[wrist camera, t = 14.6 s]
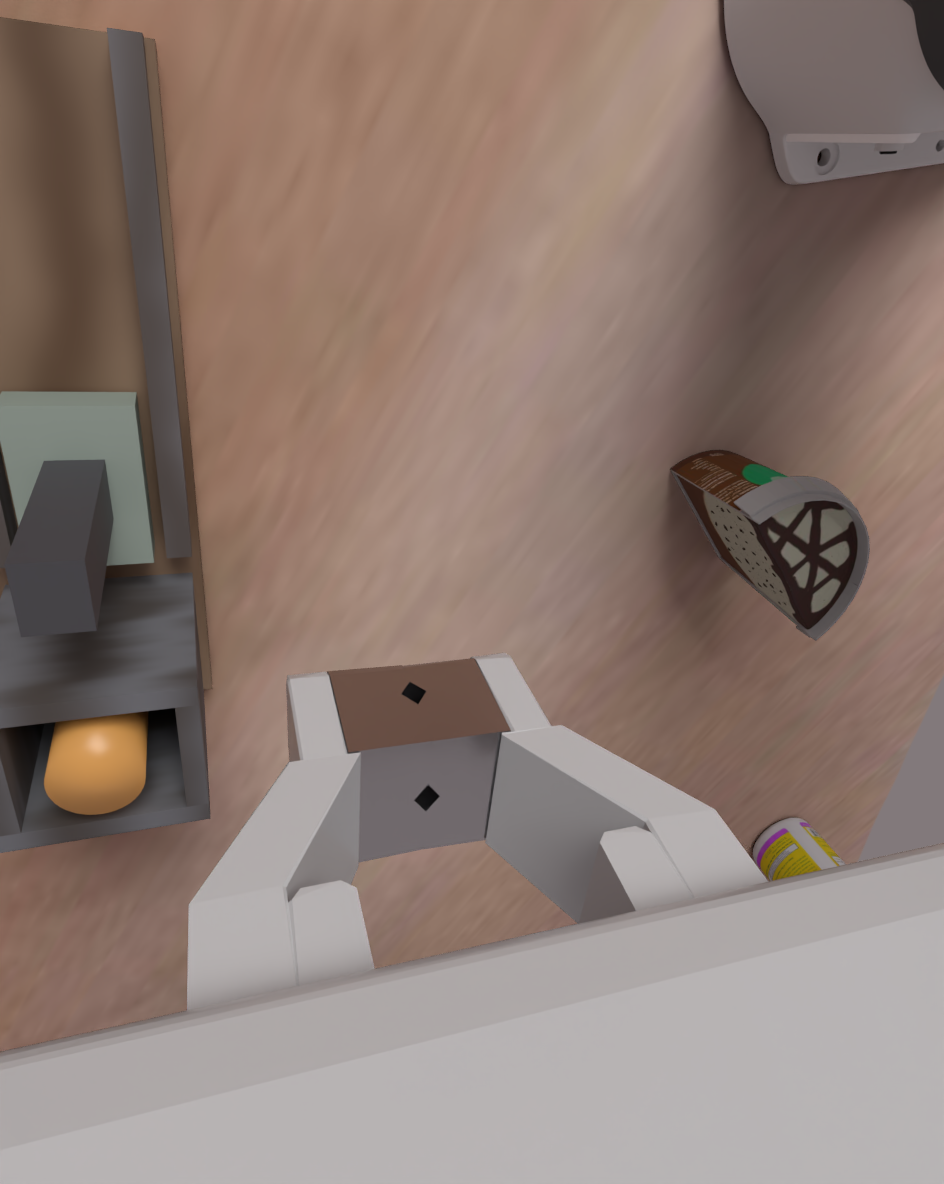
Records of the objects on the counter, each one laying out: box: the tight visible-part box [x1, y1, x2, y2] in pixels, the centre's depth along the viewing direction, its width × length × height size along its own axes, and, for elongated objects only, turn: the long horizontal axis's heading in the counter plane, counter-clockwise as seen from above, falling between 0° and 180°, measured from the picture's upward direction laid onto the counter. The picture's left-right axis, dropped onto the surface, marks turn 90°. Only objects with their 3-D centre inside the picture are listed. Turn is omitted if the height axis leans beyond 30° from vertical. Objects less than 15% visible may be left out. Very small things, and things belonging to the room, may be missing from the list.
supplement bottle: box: [753, 818, 846, 881], centre depth 73 cm, size 7×7×13 cm
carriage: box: [0, 391, 155, 637], centre depth 32 cm, size 6×8×12 cm
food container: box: [670, 450, 870, 641], centre depth 49 cm, size 12×6×10 cm, turn 35°
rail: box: [0, 17, 212, 853], centre depth 33 cm, size 10×32×12 cm, turn 175°
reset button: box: [44, 711, 148, 815], centre depth 36 cm, size 4×4×6 cm
